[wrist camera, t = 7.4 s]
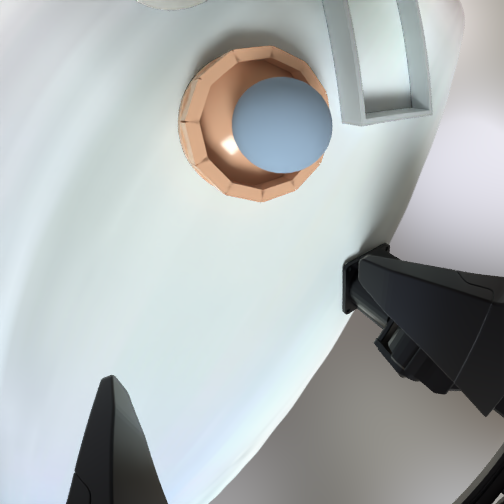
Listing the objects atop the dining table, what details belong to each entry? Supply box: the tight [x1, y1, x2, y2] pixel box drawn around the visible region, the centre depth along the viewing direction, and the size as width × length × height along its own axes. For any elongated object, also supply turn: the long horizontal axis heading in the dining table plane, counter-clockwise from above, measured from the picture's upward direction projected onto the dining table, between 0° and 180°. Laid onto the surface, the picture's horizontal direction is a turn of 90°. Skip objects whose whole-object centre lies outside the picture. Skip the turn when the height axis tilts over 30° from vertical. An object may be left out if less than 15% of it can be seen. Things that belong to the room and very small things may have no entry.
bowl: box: [178, 46, 329, 202], centre depth 18 cm, size 10×10×2 cm
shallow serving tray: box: [322, 0, 432, 126], centre depth 19 cm, size 15×10×2 cm
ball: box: [232, 77, 332, 173], centre depth 16 cm, size 6×6×6 cm
